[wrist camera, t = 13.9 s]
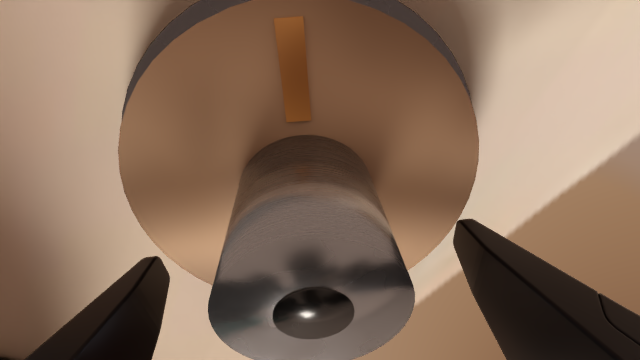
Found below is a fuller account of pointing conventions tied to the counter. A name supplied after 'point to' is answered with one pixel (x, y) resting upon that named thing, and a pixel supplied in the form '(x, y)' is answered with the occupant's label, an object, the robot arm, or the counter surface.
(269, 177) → the cover
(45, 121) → the counter surface
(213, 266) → the turntable
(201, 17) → the base
